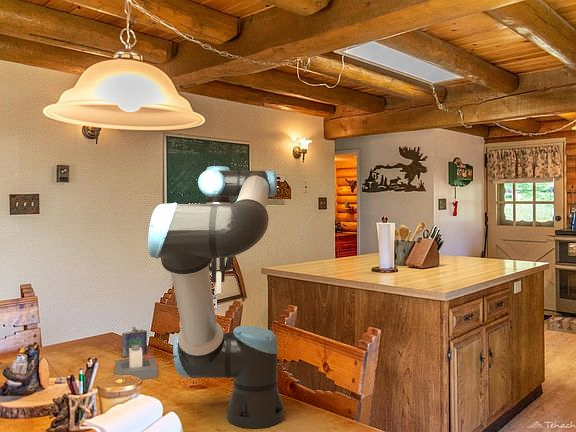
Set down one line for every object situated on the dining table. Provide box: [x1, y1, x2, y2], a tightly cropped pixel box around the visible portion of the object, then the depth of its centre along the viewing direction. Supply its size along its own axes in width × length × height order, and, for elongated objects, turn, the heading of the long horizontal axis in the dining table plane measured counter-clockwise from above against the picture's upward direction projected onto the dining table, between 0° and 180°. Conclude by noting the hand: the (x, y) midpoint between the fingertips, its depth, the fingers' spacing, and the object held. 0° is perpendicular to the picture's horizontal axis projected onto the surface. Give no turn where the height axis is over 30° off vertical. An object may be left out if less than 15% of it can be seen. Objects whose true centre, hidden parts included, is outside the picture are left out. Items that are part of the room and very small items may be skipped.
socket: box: [114, 354, 158, 380], centre depth 167 cm, size 14×13×4 cm
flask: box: [121, 326, 148, 359], centre depth 188 cm, size 9×3×11 cm, turn 122°
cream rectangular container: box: [128, 344, 143, 368], centre depth 167 cm, size 5×4×10 cm
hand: (217, 292), depth 154 cm, fingers closed
